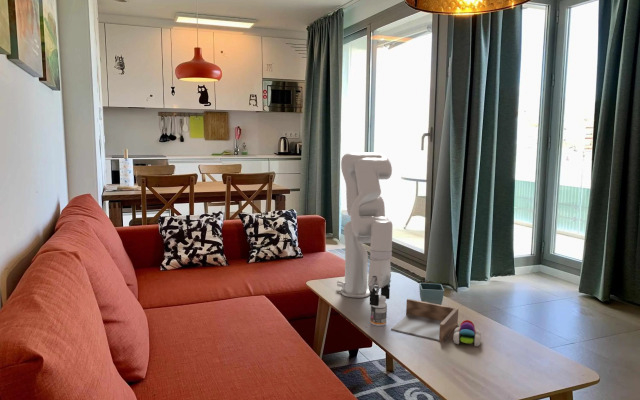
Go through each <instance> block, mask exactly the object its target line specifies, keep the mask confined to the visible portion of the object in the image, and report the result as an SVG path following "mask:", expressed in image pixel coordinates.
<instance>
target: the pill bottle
mask: <svg viewBox="0 0 640 400" xmlns="http://www.w3.org/2000/svg"><path fill="white" fill-rule="evenodd" d="M378 295H379V305H378V306H373V305H370V319H369V320H370V324H371V325H373V326H377V327H381V326H385V325H386V324H387V312H388V303H386V301H387V299H386V297H385V296H383V295H381V294H378Z"/></svg>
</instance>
